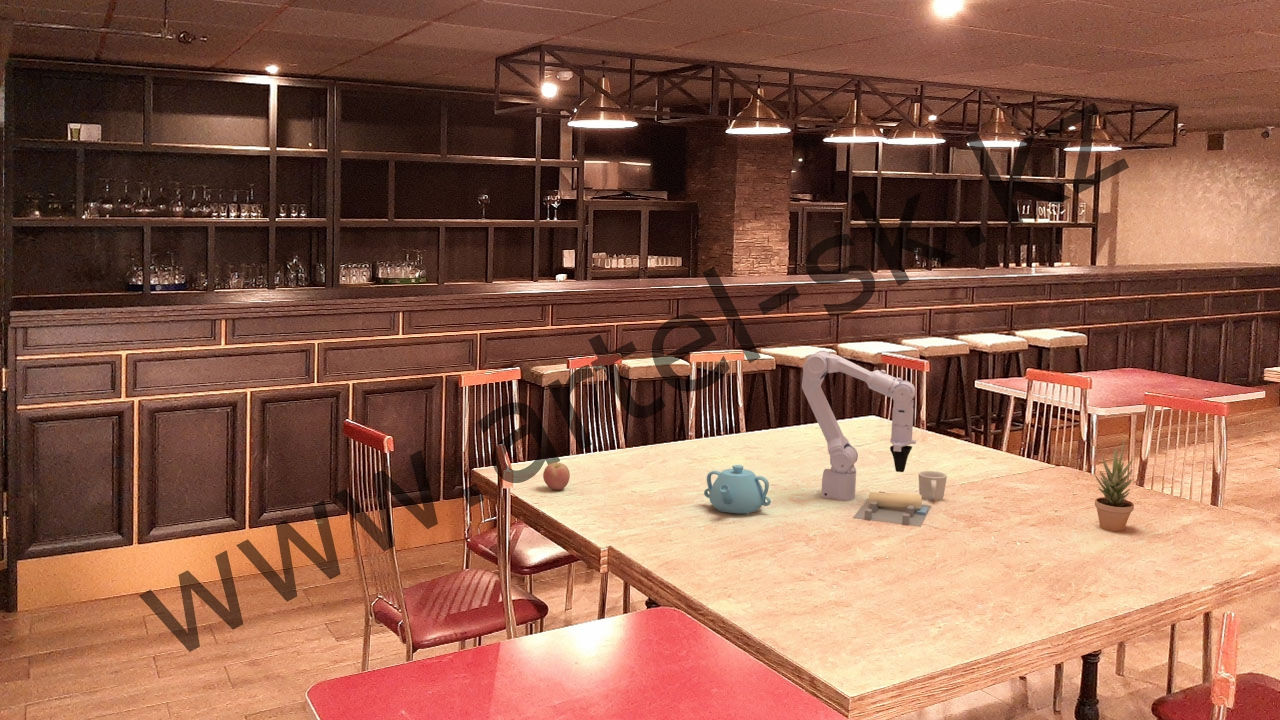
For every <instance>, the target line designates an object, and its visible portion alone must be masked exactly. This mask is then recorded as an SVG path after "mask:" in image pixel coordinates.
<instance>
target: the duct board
mask: <svg viewBox="0 0 1280 720" xmlns="http://www.w3.org/2000/svg"><path fill="white" fill-rule="evenodd" d="M878 492H881V493H886V491H878ZM868 499H869V497H868V498H867V499H866V500H865V502H863V504H862V505H861V506H860V507H859V509H858V510H857V512H856V513H854V515H853V516H852V519H857V520H865V521H871V522H881V523H888V524H895V525H903V526H904V525H905V526H913V527H918V528H920V527H922V525H923V523H924V522H925V520H926V517H927V515H928V513H929V512H930V510H931V508H932V505H928V504H922V506H921V509H915V506H914V505H909V506H908V507H907V508H891V507H878V501H872V502H871V503H870V506H869V502H868Z"/></svg>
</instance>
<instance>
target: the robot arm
mask: <svg viewBox="0 0 1280 720" xmlns="http://www.w3.org/2000/svg"><path fill="white" fill-rule="evenodd" d="M839 372H840V373H842V374H845V375H848V376H850V377H852V378H855V379H858V380H861V381H863V382H865V383H866V384H867V387H868V389H870V390H872V391H875V392H877V393H879V394H881V395H884V396H886V397H887V398H892V400H893V407H892V414H891V415H892V416H891V436H890V440H889V442H890V443H891V446H890V447H889V451H890V453H891V454H892V458H893V463H894V470H895V472H897V473H904V472H905V469H906V465H907V461H908V458H909V455H910V453H911V451H912V449H913V446H912V445H915V444H917V440H915V439H913V428H914V425H913V424H914V398H915V396H916V391H917V390H916V387H915V385H914V384H913V383H912V382H910V381H909V380H903V379H902V378H901V377H895V376H893V375H890V374H888V373H887V371H886V370H884V369H881V370H879V369H875V370H873V371H870V370H868V369H866V368H865V367H863V366H860V365H858V364H857V363H854V362H852V361H850V360H849V359H846V358H844V357H842V356H840V355H837V354H836V353H830V352H829V351H827V350H826V351H825V350H820V351H817V352H815V353H813V354H810V355H809V356H808V357H807V358H806V360H805V362H804V364H803V365H802V381H801V388H802V391H803V393H804V396H805V397H806V400H807V402H808V404H809V407H810V408H811V411H812V413H813V415H814V417H815V419H816V422H817V424H818V426H819V428H820V430H821V432H822V434H823V436H824V439H825V440H826V444H827V452H828V454H829V463H830V466H831V467H830V468H824V470H823V473H822V479H821V498H822V499H823V498H824V499H830V500H836V501H844V502H845V501H847V502H848V501H854V500H855V499H856V484H857V483H856V482H857V481H856V480H857V468H856V467H855V464H856V462H857V461H858V458H859V454H858V451H857V449H856V448H855V447H854V446H852V444H851V443H850V442H849V439H848V438H847V437H846V436H844V434H843V431H842V430H841V428H840V424H839V423H838V421H837V419H836V417H835V414H834V411H833V410H832V407H831V405H830V403H829V401H828V400H827V397H826V395H825V393H824V390H823V389H822V384H823V381H824V379H825V376H826V375H827V374H833V373H839Z"/></svg>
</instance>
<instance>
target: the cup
mask: <svg viewBox="0 0 1280 720" xmlns="http://www.w3.org/2000/svg"><path fill="white" fill-rule="evenodd" d="M947 478H948V475H947V474H946V473H944V472H942V471H938V470H937V471H935V470H922V471H919V472H918V490H919V491H918V492H919V494H918V495H921V496H922V500H925V501H926V500H927V501H941V502H942V501H943V500H944V496H945V490H946V484H947Z"/></svg>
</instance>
